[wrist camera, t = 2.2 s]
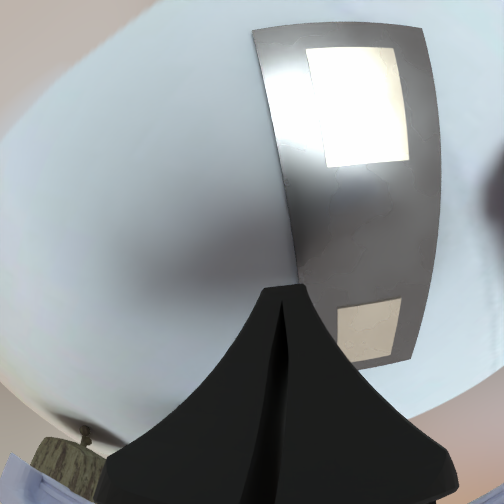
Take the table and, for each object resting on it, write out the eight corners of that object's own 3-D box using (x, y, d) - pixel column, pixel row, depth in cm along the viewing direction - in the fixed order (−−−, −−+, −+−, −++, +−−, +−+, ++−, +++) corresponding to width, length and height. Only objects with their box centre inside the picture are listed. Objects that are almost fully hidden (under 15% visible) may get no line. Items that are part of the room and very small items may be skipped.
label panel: (408, 354, 13) (411, 360, 13) (309, 371, 14) (309, 378, 14) (417, 30, 6) (423, 27, 5) (252, 33, 7) (251, 29, 6)
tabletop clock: (89, 439, 31) (53, 545, 10) (51, 410, 28) (5, 524, 6) (149, 454, 28) (115, 588, 6) (105, 424, 24) (56, 577, 2)
